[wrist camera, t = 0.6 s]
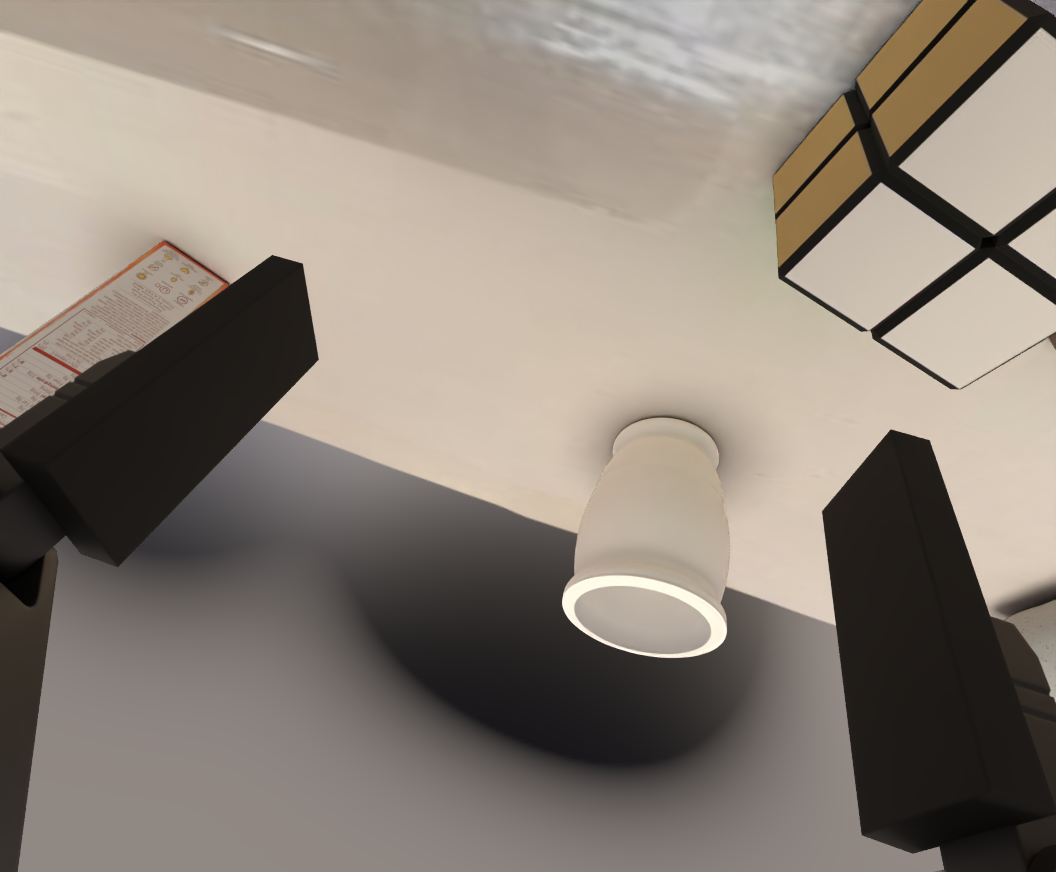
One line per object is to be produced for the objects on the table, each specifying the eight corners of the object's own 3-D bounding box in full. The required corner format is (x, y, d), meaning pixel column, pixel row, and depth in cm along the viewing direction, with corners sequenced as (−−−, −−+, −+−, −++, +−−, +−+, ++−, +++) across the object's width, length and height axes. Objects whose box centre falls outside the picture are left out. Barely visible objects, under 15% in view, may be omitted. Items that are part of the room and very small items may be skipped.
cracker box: (207, 374, 55) (25, 553, 41) (148, 337, 53) (-63, 511, 39) (236, 285, 45) (9, 481, 31) (164, 236, 43) (-109, 421, 30)
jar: (662, 382, 40) (633, 558, 31) (763, 457, 43) (765, 641, 33) (576, 448, 48) (530, 605, 38) (666, 508, 51) (645, 670, 41)
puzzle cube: (1137, 99, 23) (1289, 203, 17) (914, 277, 31) (958, 398, 24) (956, -45, 22) (1044, 7, 15) (767, 179, 29) (771, 279, 23)
